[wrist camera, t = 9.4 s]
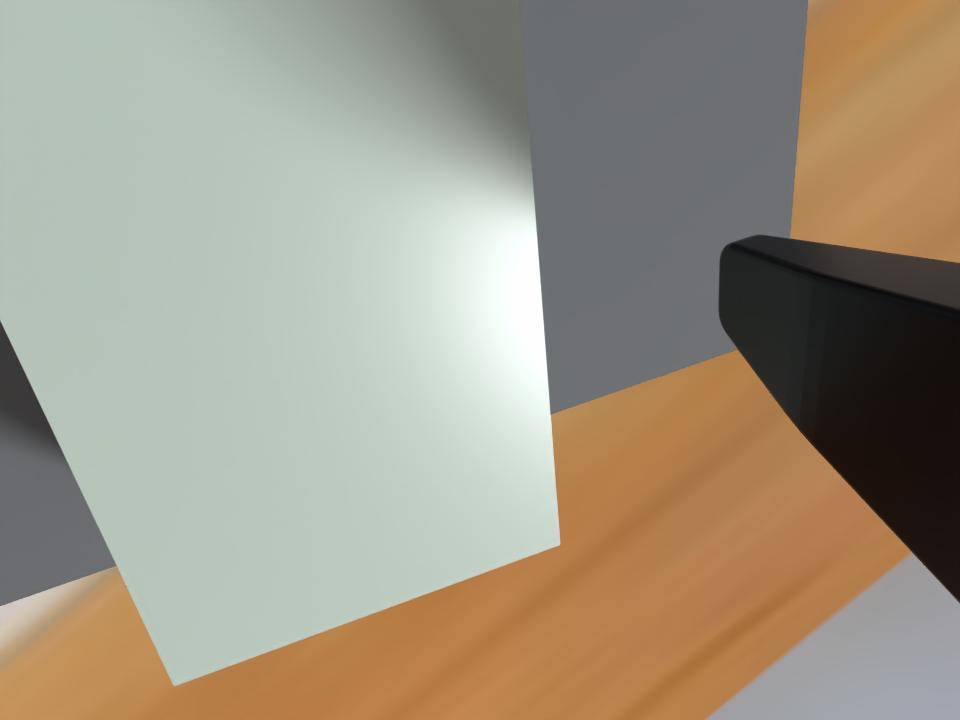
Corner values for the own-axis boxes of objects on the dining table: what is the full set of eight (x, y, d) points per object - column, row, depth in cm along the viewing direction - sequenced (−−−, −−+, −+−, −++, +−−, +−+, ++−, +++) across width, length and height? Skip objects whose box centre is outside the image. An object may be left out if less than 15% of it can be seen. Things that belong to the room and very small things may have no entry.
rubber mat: (810, -344, 12) (834, -349, 12) (767, 322, 18) (782, 334, 18) (-969, -95, 8) (-1022, -90, 8) (-246, 669, 14) (-256, 695, 14)
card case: (464, 399, 16) (560, 544, 13) (154, 496, 15) (173, 686, 11) (382, -183, 11) (505, -185, 8) (-101, -118, 10) (-193, -87, 6)
